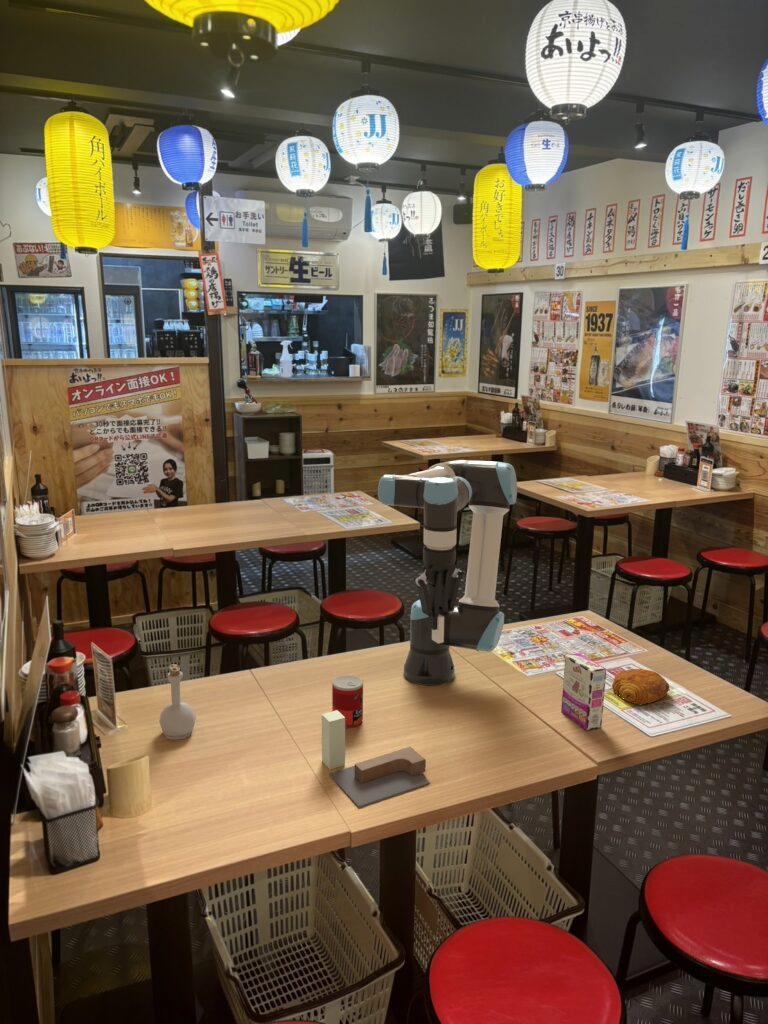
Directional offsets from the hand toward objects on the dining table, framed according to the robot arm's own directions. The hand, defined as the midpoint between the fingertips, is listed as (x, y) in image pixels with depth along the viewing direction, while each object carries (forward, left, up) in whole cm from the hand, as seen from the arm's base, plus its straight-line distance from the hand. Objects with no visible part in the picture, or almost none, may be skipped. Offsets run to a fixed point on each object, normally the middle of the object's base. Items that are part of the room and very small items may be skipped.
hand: (437, 640), depth 173 cm
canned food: (+13, -20, -27) cm, 37 cm away
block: (+25, -4, -27) cm, 37 cm away
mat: (+19, +7, -27) cm, 34 cm away
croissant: (-66, +5, -28) cm, 72 cm away
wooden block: (+9, +7, -25) cm, 27 cm away
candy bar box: (-41, +8, -27) cm, 50 cm away
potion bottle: (+53, -35, -27) cm, 70 cm away
